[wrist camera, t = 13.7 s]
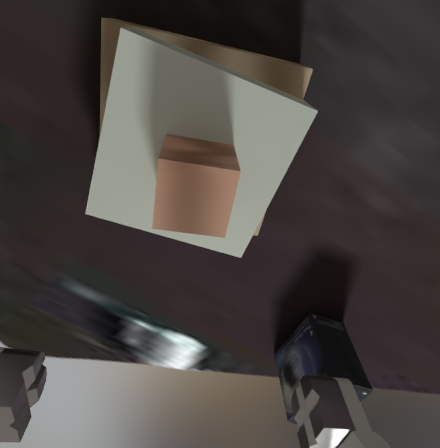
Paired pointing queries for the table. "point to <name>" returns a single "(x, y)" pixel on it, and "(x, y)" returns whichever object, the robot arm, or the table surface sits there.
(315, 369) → the small box
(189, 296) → the table surface
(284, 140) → the sage block
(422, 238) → the table surface
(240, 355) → the table surface
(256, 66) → the birch slab
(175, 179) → the terracotta cube
